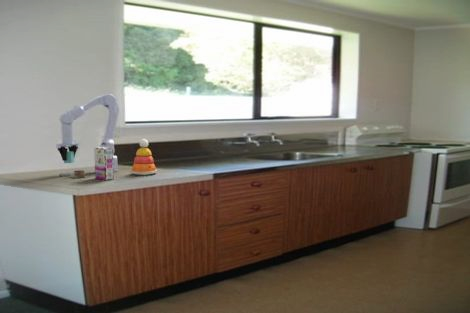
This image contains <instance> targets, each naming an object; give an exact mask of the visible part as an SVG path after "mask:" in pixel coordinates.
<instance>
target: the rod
mask: <svg viewBox="0 0 470 313" xmlns="http://www.w3.org/2000/svg"><path fill="white" fill-rule="evenodd" d="M69 173H70V176H69V177H70V179H71V178H72V179H73V178H74V177H75V173H74V172H69ZM74 179H75V178H74Z"/></svg>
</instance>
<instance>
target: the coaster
mask: <svg viewBox="0 0 470 313" xmlns="http://www.w3.org/2000/svg"><path fill="white" fill-rule="evenodd" d="M70 173H71V172H64V173H61V172H60V177H70Z"/></svg>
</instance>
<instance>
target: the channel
mask: <svg viewBox="0 0 470 313" xmlns="http://www.w3.org/2000/svg"><path fill="white" fill-rule="evenodd" d="M73 173H75V178H74V179H83V178H84V179H85V170H83V169H80V170H79V169H78V170H74V171H73Z"/></svg>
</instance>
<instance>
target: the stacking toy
mask: <svg viewBox="0 0 470 313" xmlns="http://www.w3.org/2000/svg"><path fill="white" fill-rule="evenodd" d="M139 146H140V148H138V149H137V151H136V153H135V155H136V156H135V157H134V160H133V164H132V168H131V171H130V172H131V173H132V175H142V176H147V175H153V174H156V173H157V172H158V169H157V168H156V165H155V164H154V163H155V161H154V160H155V159H154V158H153V156H152V155H153V154H152V151H151V150H150V149H149V148H148V147H149V141H148V140H147V139H146V138H141V140H140V141H139Z"/></svg>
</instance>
